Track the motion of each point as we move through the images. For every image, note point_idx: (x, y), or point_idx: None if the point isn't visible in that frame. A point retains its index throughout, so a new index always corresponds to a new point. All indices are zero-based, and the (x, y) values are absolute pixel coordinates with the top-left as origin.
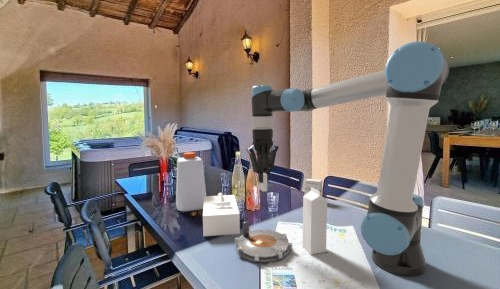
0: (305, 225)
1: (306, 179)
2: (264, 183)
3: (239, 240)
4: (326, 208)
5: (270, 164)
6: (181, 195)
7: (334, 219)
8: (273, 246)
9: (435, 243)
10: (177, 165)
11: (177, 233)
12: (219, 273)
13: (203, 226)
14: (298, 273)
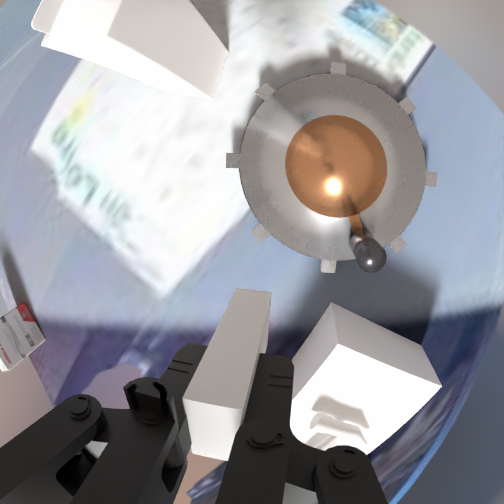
0: (187, 57)
1: (5, 369)
2: (253, 331)
3: (402, 222)
4: None
5: (58, 478)
6: None
7: (36, 202)
8: (331, 108)
9: (14, 31)
10: None
11: (446, 386)
12: (490, 145)
13: (429, 363)
14: (326, 11)
